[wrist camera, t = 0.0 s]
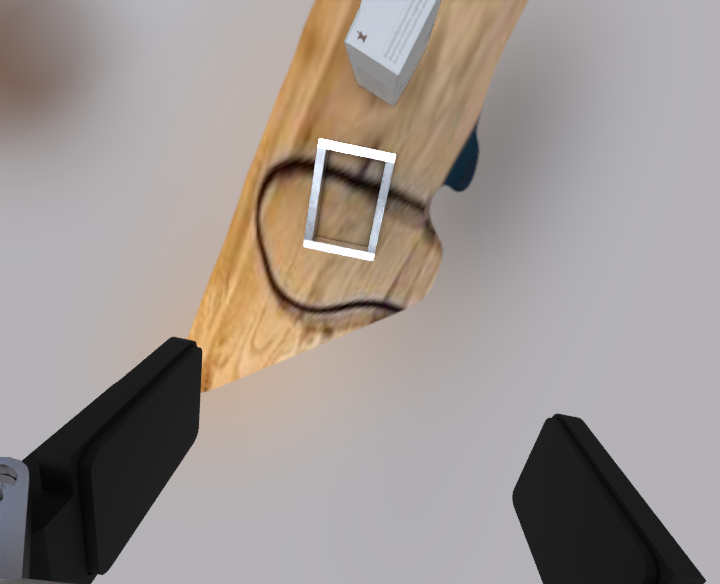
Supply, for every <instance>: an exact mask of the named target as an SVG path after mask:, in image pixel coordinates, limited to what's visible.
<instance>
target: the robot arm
mask: <svg viewBox="0 0 720 584" xmlns="http://www.w3.org/2000/svg"><path fill="white" fill-rule="evenodd" d="M201 370H202V349H201V348H199V347H197V345H196V342H195V341H192V340H187V339H182V338H177V337H171V338H169V339H168V340H167V341H166V342H165V343H163V344H162V345H161V346H160V347H159V348H158V349H156V350H155V351H154V352H153V353H152V354H151V355H149V356H148V357H147V358H146V359H144V360H143V361H142V362H141V363H140V364H138V365H137V366H136V367H135V368H134V369H132V371H130V372H129V373H128V374H126V376H124V377H123V378H122V379H121V380H119V381H118V382H116V383H115V384H113V385H112V386H111V387H110V388H108V389H107V390H106V391H105V392H104V393H102V394H101V395H100V396H99V397H98V398H96V399H95V400H94V401H93V402H92V403H90V404H89V405H88V406H87V407H86V408H85V409H83V410H82V411H81V412H80V413H79V414H77V415H76V416H75V417H74V418H73V419H71V420H70V421H69V422H68V423H67V424H65V425H64V426H63V427H62V428H61V429H59V430H58V431H57V432H56V433H55V434H53V435H52V436H51V437H50V438H49V439H47V440H46V441H45V442H44V443H43V444H41V445H40V446H39V447H38V448H37V449H36V450H34V451H33V452H32V453H31V454H30V455H28V456H27V457H26V458H25V459H23V460H22V461H20V460H17V459H13V458H10V457H0V584H91V583H92V581H93V580H94V578H95V577H96V576H97V574H100V575H103V574H105V573H106V572H107V571H108V570H109V569H110V567H111V566H112V565H113V563H114V562H115V560H116V559H117V557H118V556H119V554H120V553H121V551H122V550H123V548H124V547H125V545H126V543H127V542H128V541H129V539H130V538H131V536H132V535H133V533H134V532H135V530H136V529H137V527H138V526H139V524H140V523H141V521H142V520H143V518H144V516H145V515H146V514H147V512H148V511H149V509H150V508H151V506H152V505H153V503H154V502H155V500H156V498H157V497H158V496H159V494H160V493H161V491H162V490H163V488H164V487H165V485H166V484H167V482H168V481H169V479H170V478H171V476H172V475H173V473H174V472H175V470H176V469H177V467H178V466H179V464H180V463H181V461H182V460H183V458H184V457H185V455H186V454H187V452H188V450H189V449H190V448H191V446H192V445H193V443H194V441H195V439H196V437H197V434H198V429H199V412H200V391H201ZM512 497H513V505H514V508H515V511H516V513H517V516H518V519H519V521H520V524H521V527H522V529H523V532H524V535H525V537H526V540H527V542H528V545H529V548H530V550H531V553H532V556H533V558H534V561H535V564H536V566H537V569H538V571H539V574H540V577H541V579H542V582H543V584H704V583H705V582H706V580H705V578H704V577H703V576H702V575H701V573H700V572H699V571H698V569H697V568H696V567H695V566H694V564H693V563H692V562H691V560H690V559H689V558H688V556H687V555H686V554H685V553H684V551H683V550H682V549H681V547H680V546H679V545H678V544H677V542H676V541H675V539H674V538H673V537H672V536H671V534H670V533H669V532H668V530H667V529H666V528H665V526H664V525H663V524H662V523H661V521H660V520H659V519H658V517H657V516H656V515H655V514H654V512H653V511H652V510H651V508H650V507H649V506H648V504H647V503H646V502H645V500H644V499H643V498H642V497H641V495H640V494H639V493H638V491H637V490H636V489H635V488H634V486H633V485H632V484H631V482H630V481H629V480H628V478H627V477H626V476H625V475H624V473H623V472H622V471H621V469H620V468H619V467H618V466H617V464H616V463H615V462H614V460H613V459H612V458H611V456H610V455H609V454H608V452H607V451H606V450H605V449H604V447H603V446H602V445H601V443H600V442H599V441H598V439H597V438H596V437H595V436H594V434H593V433H592V432H591V430H590V429H589V428H588V427H587V425H586V424H585V423H584V421H583V420H582V419H580V418H577V417H572V416H567V415H562V414H555V415H554V416H553V417H552V418H548V419H546V421H545V423H544V425H543V427H542V429H541V432H540V434H539V436H538V438H537V441H536V442H535V445H534V447H533V449H532V451H531V453H530V455H529V458H528V460H527V462H526V464H525V466H524V469H523V471H522V473H521V475H520V477H519V480H518V482H517V484H516V486H515V488H514V491H513V496H512Z"/></svg>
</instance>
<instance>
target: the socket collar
mask: <svg viewBox="0 0 720 584" xmlns="http://www.w3.org/2000/svg"><path fill="white" fill-rule="evenodd" d="M329 150H334V151H339V152H343V153H348V154H353V155H358V156H363V157H367V158H372V159H377V160H382V161H386V162H385V167H384V172H383V177H382V182H381V187H380V191H379V196H378V201H377V206H376V211H375V215H374V220H373V225H372V230H371V235H370V240H369V244H368V247H366V246H361V245H356V244H351V243H346V242H342V241H337V240H332V239H327V238H322V237H317V236H316V233H317V227H318V220H319V214H320V207H321V201H322V194H323V188H324V181H325V175H326V168H327V162H328V156H329ZM395 157H396V154H393V153H388V152H383V151H378V150H373V149H369V148H364V147H359V146H354V145H350V144H345V143H340V142H335V141H330V140H326V139H321V138H319V140H318V147H317V154H316V161H315V168H314V175H313V182H312V189H311V196H310V203H309V210H308V217H307V224H306V231H305V238H304V245H303V247H306V248H311V249H316V250H320V251H325V252H330V253H335V254H340V255H345V256H350V257H355V258H359V259H364V260H369V261H373V259H374V255H375V250H376V245H377V241H378V236H379V232H380V227H381V222H382V218H383V213H384V208H385V204H386V199H387V194H388V190H389V185H390V181H391V176H392V171H393V167H394V162H395Z"/></svg>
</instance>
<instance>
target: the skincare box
mask: <svg viewBox="0 0 720 584" xmlns="http://www.w3.org/2000/svg"><path fill="white" fill-rule="evenodd" d="M440 2H441V0H362V1H361V5H360V8H359V10H358V12H357V14H356V16H355V19H354V21H353V23H352V25H351V27H350V30H349V32H348V34H347V36H346V38H345V41H344V44H345V47H346V49H347V53H348V56H349V59H350V62H351V65H352V69H353V72H354V75H355V78H356V81H357V84H358V85H359V86H361V87H362V88H364V89H365V90H367V91H369V92H370V93H372V94H373V95H375V96H376V97H378V98H380V99H381V100H383V101H384V102H386V103H388V104H389V105H391V106H394V105H395V104H396V102H397V101H398V99H399V97H400V96H401V94H402V92H403V91H404V89H405V87H406V86H407V84H408V82H409V80H410V78H411V77H412V75H413V73H414V71H415V69H416V67H417V65H418V63H419V61H420V59H421V57H422V55H423V53H424V51H425V49H426V47H427V44H428V41H429V38H430V34H431V31H432V28H433V25H434V22H435V18H436V15H437V12H438V9H439V5H440Z"/></svg>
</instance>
